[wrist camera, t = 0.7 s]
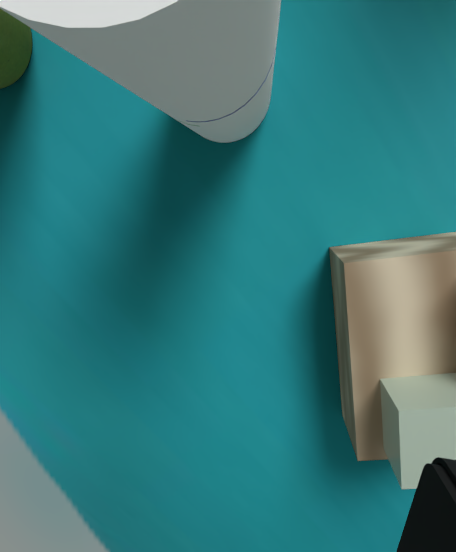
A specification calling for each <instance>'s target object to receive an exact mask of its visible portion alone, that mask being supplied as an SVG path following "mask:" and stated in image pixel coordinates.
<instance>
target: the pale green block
mask: <svg viewBox="0 0 456 552" xmlns="http://www.w3.org/2000/svg"><path fill="white" fill-rule="evenodd" d="M380 387H381V407H382V427H383V447H384V451H385V453H386V455H387V457H388V460H389V462H390V464H391V466H392V469H393V471H394V473H395V475H396V478H397V480H398V482H399V484H400V487H401V489H417V486H418V483H419V480H420V476H421V473H422V470H423V468H424V466H425V465H426V464H427V463H430V464H431V463H432V461H433V460H434V459H435V458H438V457H440V458H446V459H453V460H456V373H446V374H433V375H421V376H408V377H396V378H384V379H380Z"/></svg>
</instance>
